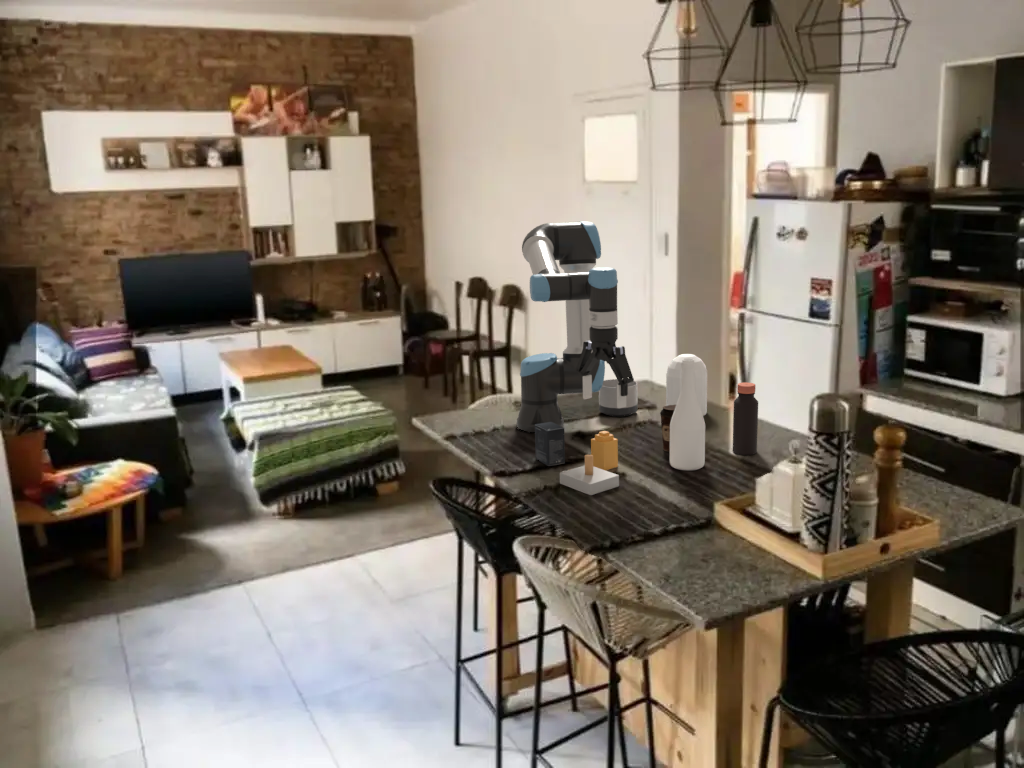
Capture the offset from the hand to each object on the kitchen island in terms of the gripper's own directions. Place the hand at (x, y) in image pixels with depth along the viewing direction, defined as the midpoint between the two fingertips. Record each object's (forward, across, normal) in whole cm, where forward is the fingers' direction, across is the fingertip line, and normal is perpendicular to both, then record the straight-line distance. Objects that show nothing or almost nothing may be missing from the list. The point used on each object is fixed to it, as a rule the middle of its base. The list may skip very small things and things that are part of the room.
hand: (604, 402), depth 247 cm
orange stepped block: (+18, 0, 0) cm, 18 cm away
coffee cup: (+18, +3, +25) cm, 31 cm away
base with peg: (+18, +6, -13) cm, 23 cm away
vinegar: (+18, +18, +38) cm, 46 cm away
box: (+19, -14, -8) cm, 25 cm away
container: (+18, -22, +58) cm, 65 cm away
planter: (+18, -37, +41) cm, 58 cm away
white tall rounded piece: (+19, +15, +17) cm, 29 cm away
